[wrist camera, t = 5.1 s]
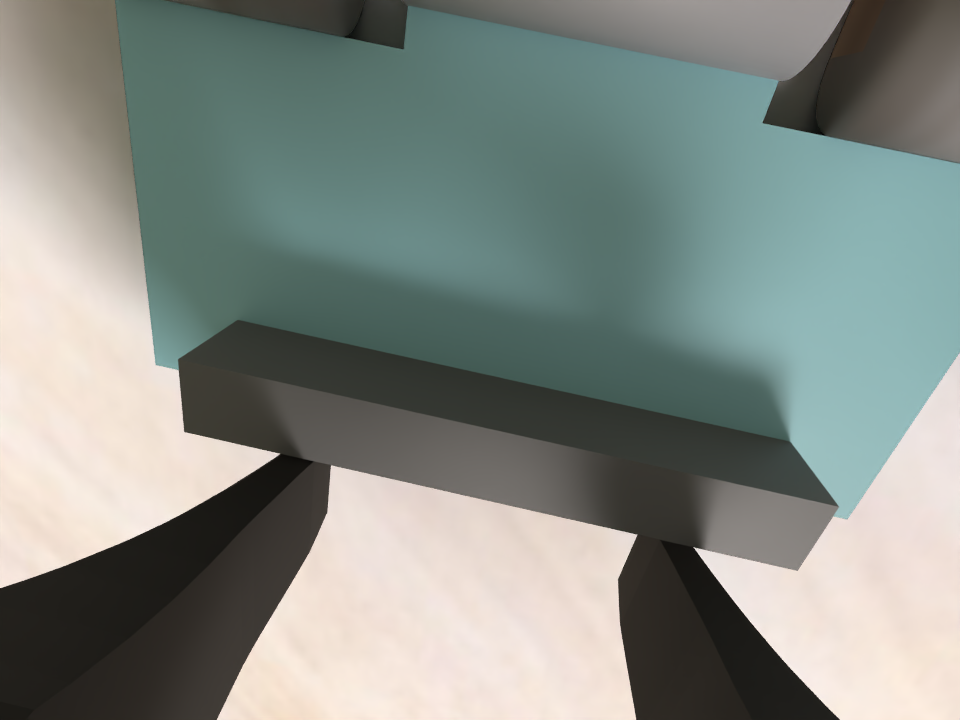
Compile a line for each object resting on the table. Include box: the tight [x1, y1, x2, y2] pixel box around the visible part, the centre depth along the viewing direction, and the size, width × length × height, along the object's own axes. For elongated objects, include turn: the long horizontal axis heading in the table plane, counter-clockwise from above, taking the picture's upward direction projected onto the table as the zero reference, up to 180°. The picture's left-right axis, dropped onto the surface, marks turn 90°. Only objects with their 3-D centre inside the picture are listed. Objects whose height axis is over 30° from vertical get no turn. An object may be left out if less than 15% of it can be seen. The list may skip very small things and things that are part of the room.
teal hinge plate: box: [115, 0, 960, 571], centre depth 9 cm, size 16×10×3 cm, turn 79°
